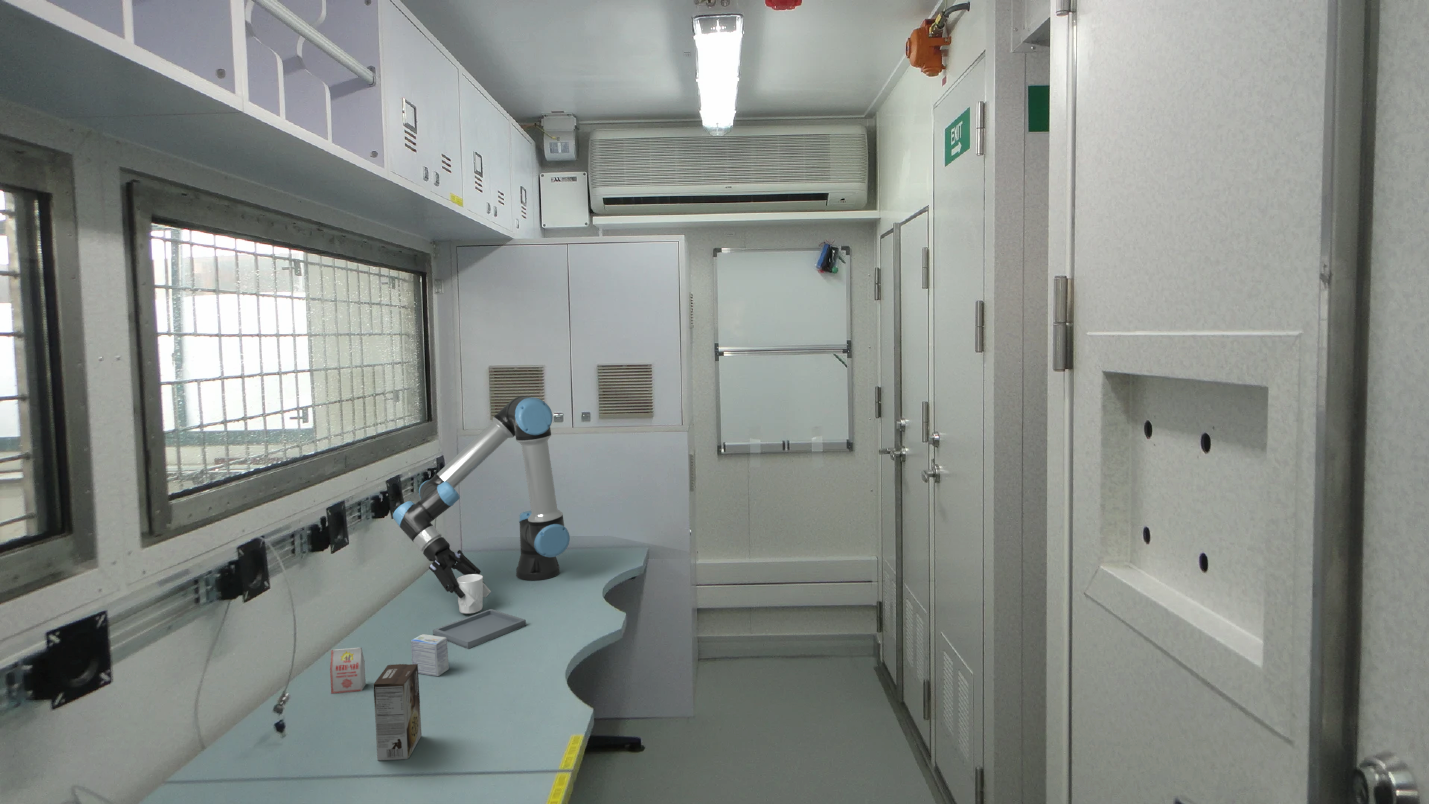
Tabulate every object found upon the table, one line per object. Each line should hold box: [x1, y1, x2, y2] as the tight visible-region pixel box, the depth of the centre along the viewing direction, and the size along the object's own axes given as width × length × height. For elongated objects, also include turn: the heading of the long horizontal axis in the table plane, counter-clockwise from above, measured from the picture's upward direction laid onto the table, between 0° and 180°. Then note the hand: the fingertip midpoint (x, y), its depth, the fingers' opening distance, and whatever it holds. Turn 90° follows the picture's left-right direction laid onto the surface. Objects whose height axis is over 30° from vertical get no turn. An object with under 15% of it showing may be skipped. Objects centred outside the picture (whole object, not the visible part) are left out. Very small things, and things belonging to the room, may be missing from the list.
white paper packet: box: [329, 647, 367, 694], centre depth 182 cm, size 4×7×10 cm, turn 100°
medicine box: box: [410, 633, 450, 677], centre depth 191 cm, size 8×4×9 cm, turn 71°
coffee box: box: [372, 663, 422, 761], centre depth 155 cm, size 9×6×16 cm
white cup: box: [456, 574, 484, 614], centre depth 232 cm, size 8×8×10 cm
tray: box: [432, 608, 527, 650], centre depth 218 cm, size 20×16×2 cm
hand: (480, 599), depth 231 cm, fingers closed on white cup, 8 cm apart
